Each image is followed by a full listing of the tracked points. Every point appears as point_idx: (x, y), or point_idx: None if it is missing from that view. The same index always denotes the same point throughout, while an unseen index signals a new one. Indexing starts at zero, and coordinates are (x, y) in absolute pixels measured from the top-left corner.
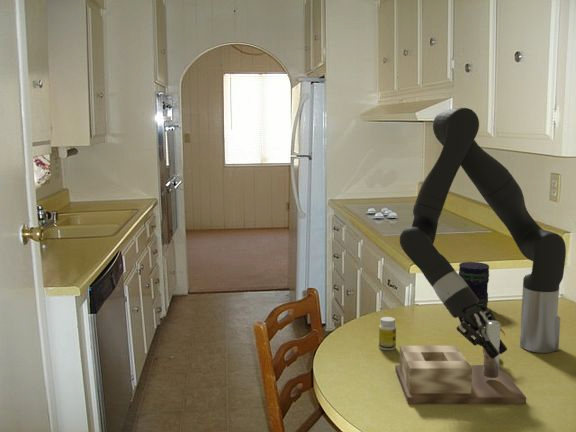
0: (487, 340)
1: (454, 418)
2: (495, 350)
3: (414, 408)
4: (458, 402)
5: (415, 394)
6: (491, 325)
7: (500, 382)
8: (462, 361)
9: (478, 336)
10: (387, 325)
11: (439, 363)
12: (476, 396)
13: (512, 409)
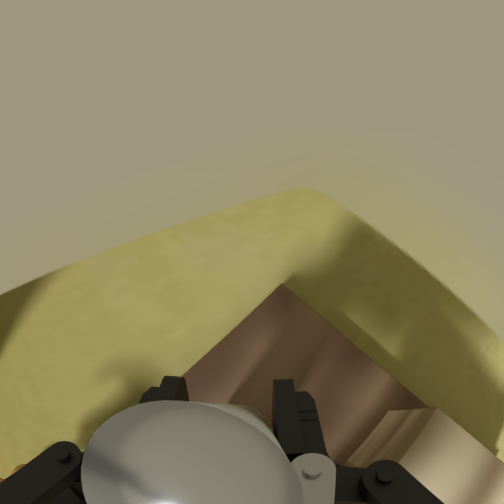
0: (317, 455)
1: (477, 361)
2: (293, 393)
3: (497, 442)
4: None
5: None
6: (295, 479)
7: (233, 395)
8: None
9: (406, 488)
10: None
11: (470, 501)
12: (393, 387)
13: (340, 301)
